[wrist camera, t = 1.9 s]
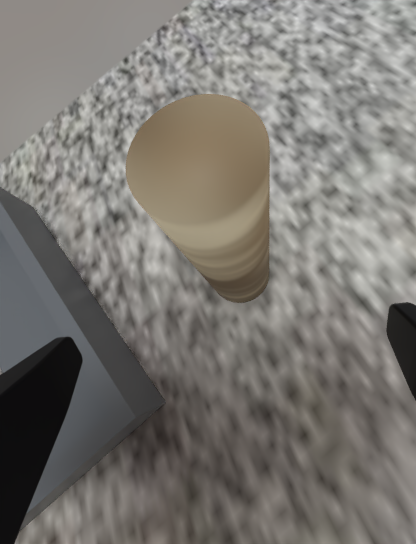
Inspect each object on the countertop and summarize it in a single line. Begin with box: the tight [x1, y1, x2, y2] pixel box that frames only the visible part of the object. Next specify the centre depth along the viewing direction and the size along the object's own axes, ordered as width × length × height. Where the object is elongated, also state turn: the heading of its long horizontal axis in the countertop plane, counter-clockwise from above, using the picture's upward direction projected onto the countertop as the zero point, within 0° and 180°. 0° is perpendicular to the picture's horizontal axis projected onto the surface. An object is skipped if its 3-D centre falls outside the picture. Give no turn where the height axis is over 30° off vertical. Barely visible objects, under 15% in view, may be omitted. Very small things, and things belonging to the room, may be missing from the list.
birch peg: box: [126, 94, 270, 303], centre depth 14 cm, size 4×4×13 cm
